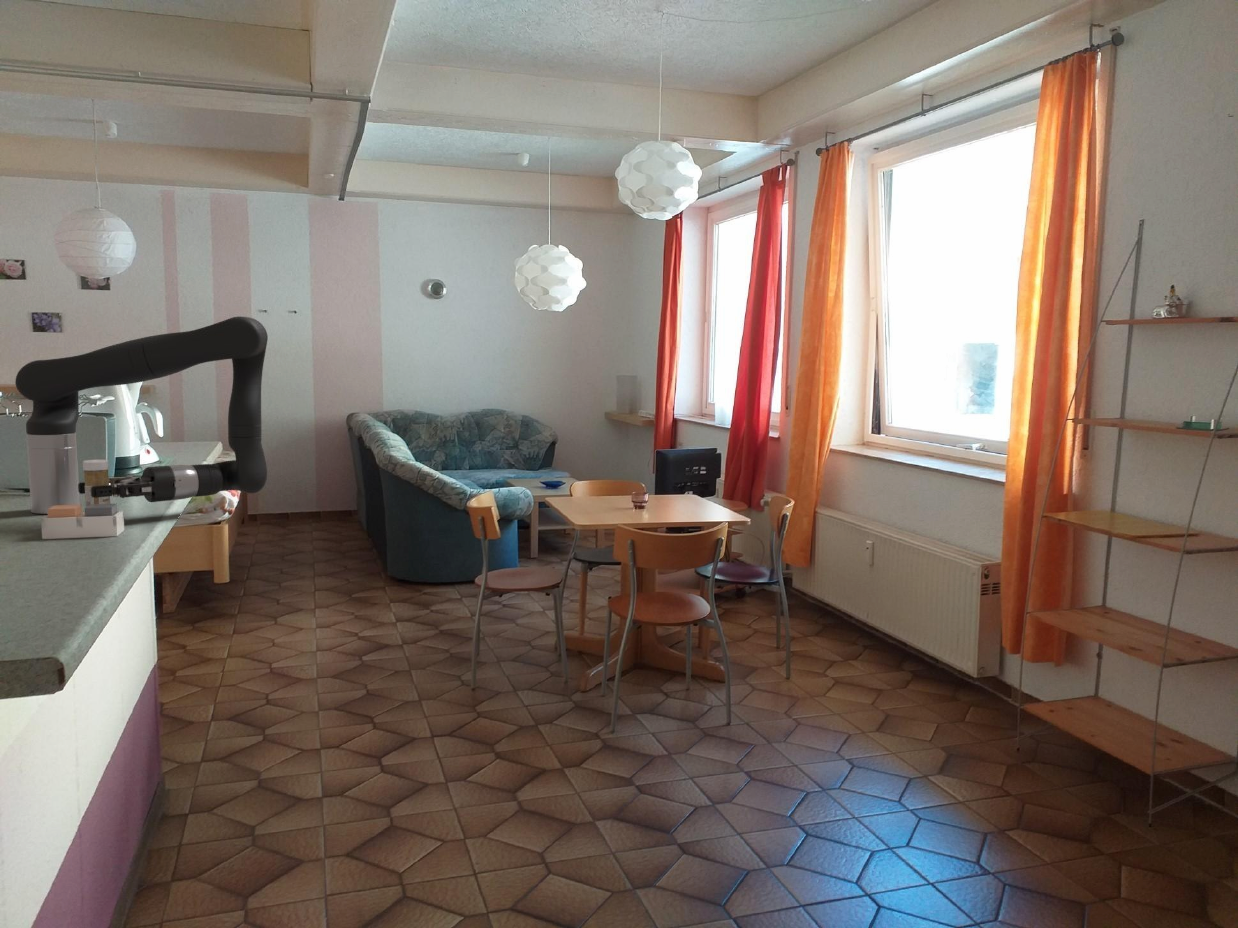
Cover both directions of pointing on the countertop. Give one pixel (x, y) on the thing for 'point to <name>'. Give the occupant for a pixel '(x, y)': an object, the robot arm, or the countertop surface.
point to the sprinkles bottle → (95, 479)
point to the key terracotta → (64, 511)
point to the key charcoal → (101, 510)
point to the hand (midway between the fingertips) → (85, 490)
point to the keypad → (82, 526)
